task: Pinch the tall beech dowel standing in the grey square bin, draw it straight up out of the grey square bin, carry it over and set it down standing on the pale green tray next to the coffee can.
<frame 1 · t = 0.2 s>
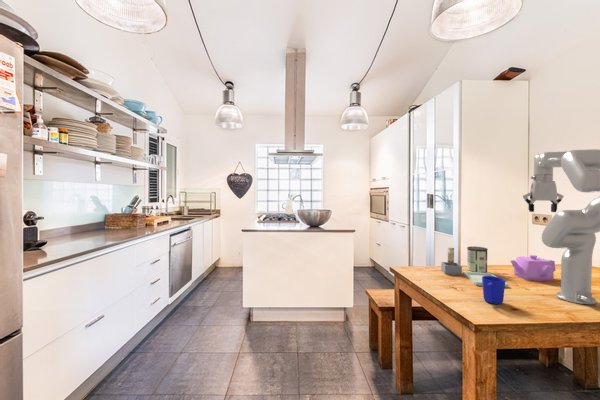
hand: (542, 211, 147), 37 cm above the table, tool pointing down, fingers open, 9 cm apart
dowel: (450, 272, 166), point 1 cm above the table, touching grey square bin
grey square bin: (451, 273, 165), on the table
mug: (492, 303, 120), on the table
coffee can: (476, 272, 169), on the table
tray: (484, 280, 151), on the table
teakettle: (532, 278, 156), on the table
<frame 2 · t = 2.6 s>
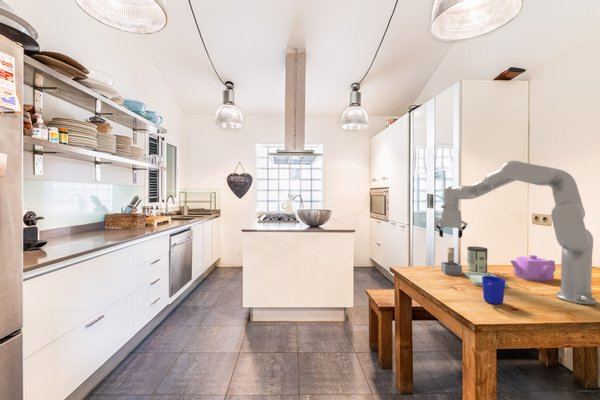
hand: (450, 237, 165), 21 cm above the table, tool pointing down, fingers open, 9 cm apart
nothing on the table moved.
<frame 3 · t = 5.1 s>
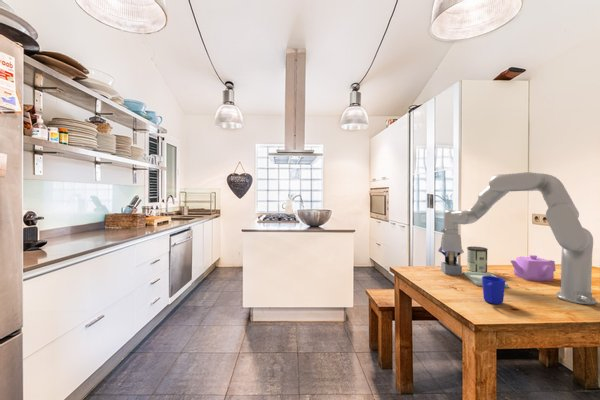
hand: (450, 263, 165), 6 cm above the table, tool pointing down, fingers closed on dowel, 3 cm apart
dowel: (450, 272, 166), point 1 cm above the table, touching grey square bin, gripper
everything else where it was.
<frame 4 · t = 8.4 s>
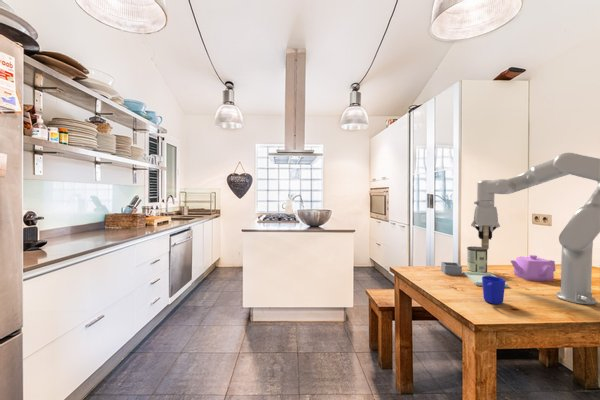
hand: (485, 238, 150), 22 cm above the table, tool pointing down, fingers closed on dowel, 3 cm apart
dowel: (485, 248, 150), point 17 cm above the table, touching gripper
everything else where it was.
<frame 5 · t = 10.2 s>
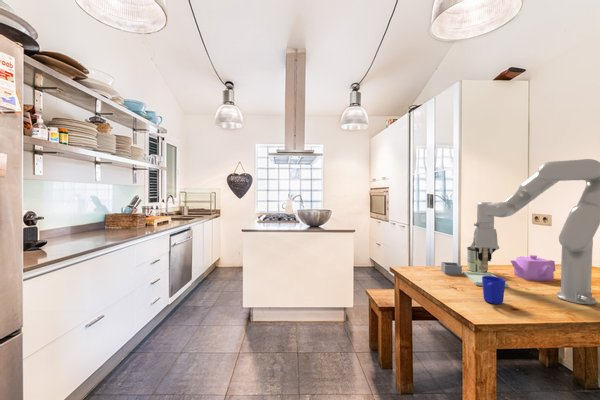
hand: (484, 260, 150), 11 cm above the table, tool pointing down, fingers closed on dowel, 3 cm apart
dowel: (484, 270, 150), point 6 cm above the table, touching gripper
everything else where it was.
when the fingers open (7 cm above the table, at t = 11.8 s): dowel drops 1 cm, resting on tray.
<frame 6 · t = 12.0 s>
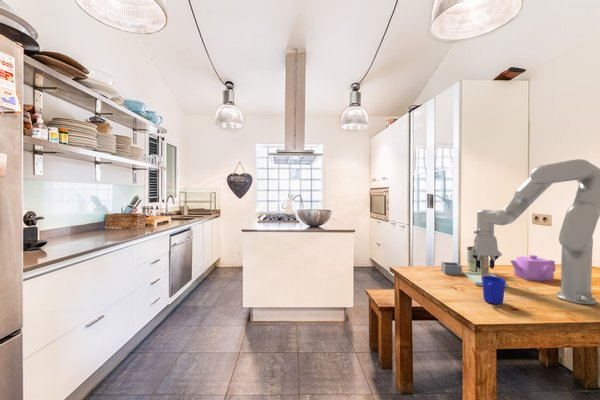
hand: (484, 267, 150), 7 cm above the table, tool pointing down, fingers open, 5 cm apart
dowel: (485, 280, 150), point 1 cm above the table, touching tray
everything else where it was.
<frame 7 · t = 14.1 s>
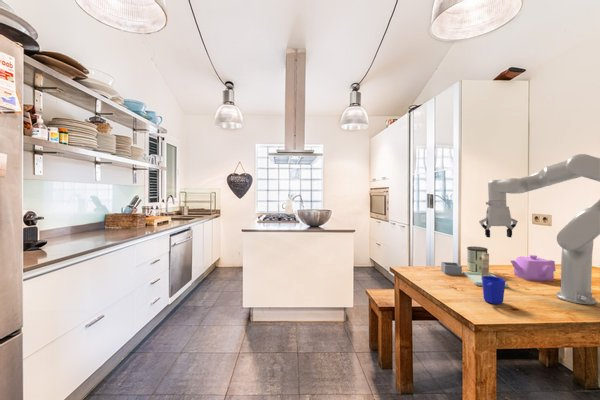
hand: (498, 237, 147), 24 cm above the table, tool pointing down, fingers open, 9 cm apart
nothing on the table moved.
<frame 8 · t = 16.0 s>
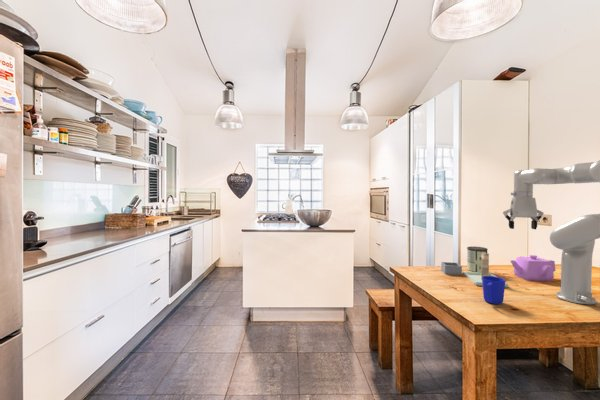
hand: (522, 228, 144), 28 cm above the table, tool pointing down, fingers open, 9 cm apart
nothing on the table moved.
at the end: dowel inside the target area on the tray (1.0 cm from its centre), point 0.6 cm above the tray's base; the gripper is holding nothing; dowel moved 18.5 cm from its start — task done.
